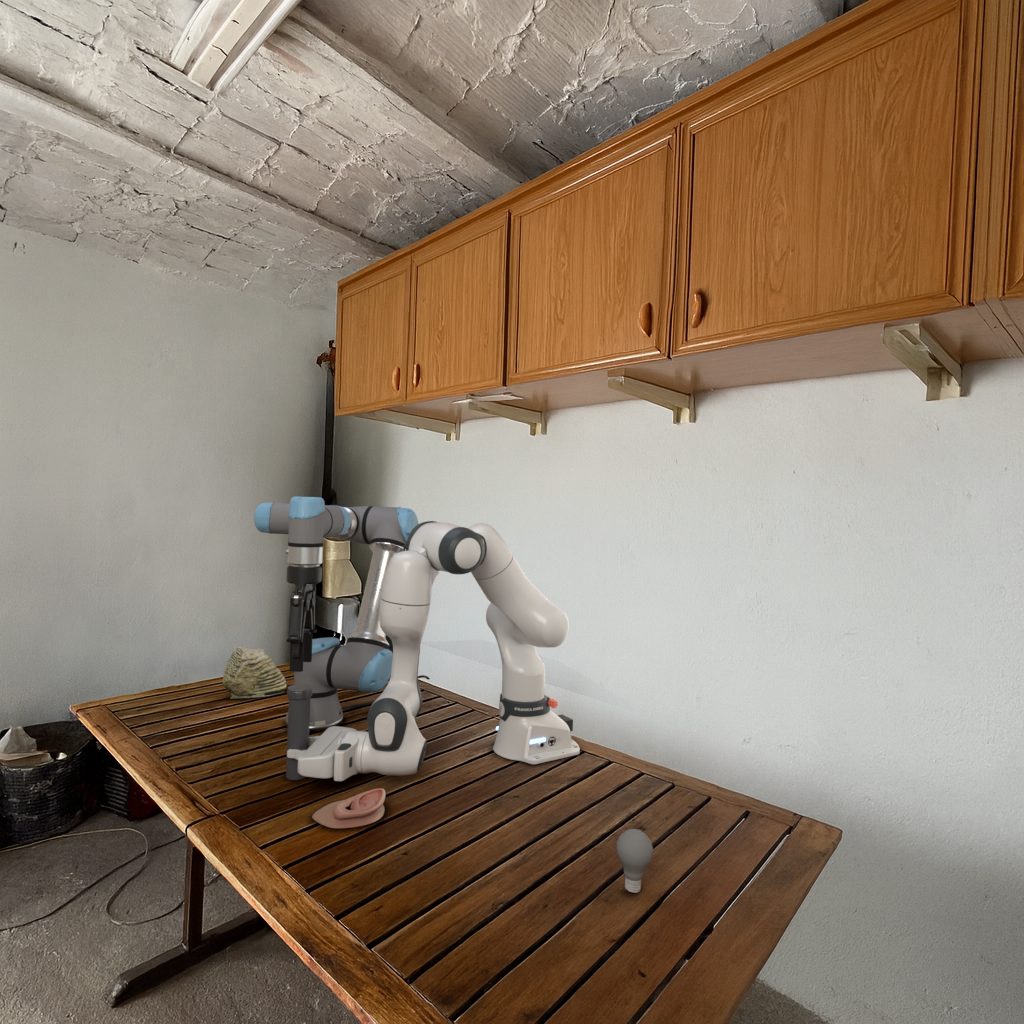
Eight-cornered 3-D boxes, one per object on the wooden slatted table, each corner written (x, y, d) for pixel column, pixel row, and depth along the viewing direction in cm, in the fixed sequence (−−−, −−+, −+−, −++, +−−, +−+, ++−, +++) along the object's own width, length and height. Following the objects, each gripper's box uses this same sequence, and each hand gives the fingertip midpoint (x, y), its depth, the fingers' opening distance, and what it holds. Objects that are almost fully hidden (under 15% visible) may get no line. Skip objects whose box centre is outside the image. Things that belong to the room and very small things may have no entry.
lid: (282, 696, 142) (282, 687, 142) (302, 691, 147) (303, 682, 147) (296, 701, 139) (297, 692, 139) (317, 696, 144) (317, 687, 143)
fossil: (218, 695, 195) (220, 647, 195) (278, 685, 208) (279, 640, 207) (228, 703, 189) (230, 653, 188) (289, 692, 201) (290, 645, 201)
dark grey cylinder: (281, 776, 143) (284, 689, 142) (299, 769, 146) (302, 684, 146) (294, 782, 140) (297, 693, 140) (311, 775, 144) (315, 689, 143)
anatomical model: (304, 803, 122) (333, 778, 133) (303, 824, 122) (332, 797, 133) (368, 813, 119) (392, 787, 131) (368, 834, 119) (391, 806, 131)
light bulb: (610, 879, 108) (613, 822, 108) (644, 879, 109) (647, 822, 109) (619, 902, 102) (622, 840, 102) (655, 901, 103) (658, 840, 103)
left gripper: (299, 560, 152) (295, 654, 153) (274, 569, 132) (270, 678, 132) (330, 561, 153) (327, 655, 153) (311, 570, 133) (307, 679, 133)
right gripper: (367, 721, 153) (311, 717, 153) (339, 755, 132) (275, 750, 133) (366, 747, 153) (310, 743, 154) (338, 785, 132) (274, 780, 133)
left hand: (300, 666), depth 143 cm, fingers open, 7 cm apart
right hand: (293, 747), depth 143 cm, fingers closed on dark grey cylinder, 5 cm apart
